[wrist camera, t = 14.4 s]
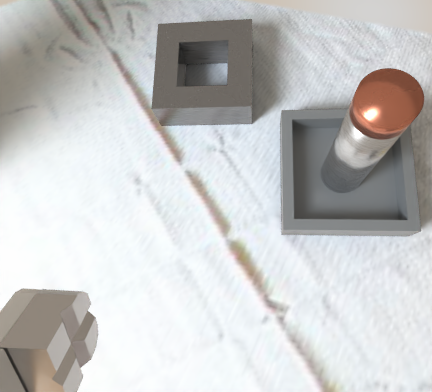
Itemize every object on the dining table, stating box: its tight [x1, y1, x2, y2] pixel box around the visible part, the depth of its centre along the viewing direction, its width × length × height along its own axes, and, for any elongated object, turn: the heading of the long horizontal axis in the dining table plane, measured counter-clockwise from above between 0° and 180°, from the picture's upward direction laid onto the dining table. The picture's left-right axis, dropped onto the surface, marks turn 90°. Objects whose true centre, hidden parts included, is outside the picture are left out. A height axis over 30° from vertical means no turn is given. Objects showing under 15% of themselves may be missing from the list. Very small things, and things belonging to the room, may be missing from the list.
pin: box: [321, 68, 424, 193], centre depth 31 cm, size 4×4×15 cm
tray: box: [280, 109, 421, 236], centre depth 37 cm, size 12×12×3 cm
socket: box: [152, 19, 253, 126], centre depth 41 cm, size 10×10×4 cm
